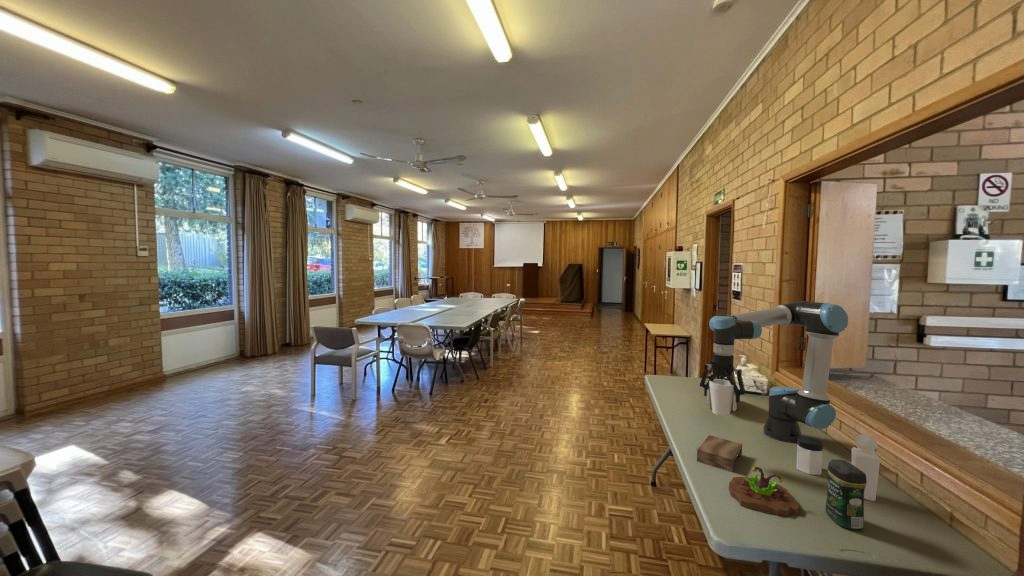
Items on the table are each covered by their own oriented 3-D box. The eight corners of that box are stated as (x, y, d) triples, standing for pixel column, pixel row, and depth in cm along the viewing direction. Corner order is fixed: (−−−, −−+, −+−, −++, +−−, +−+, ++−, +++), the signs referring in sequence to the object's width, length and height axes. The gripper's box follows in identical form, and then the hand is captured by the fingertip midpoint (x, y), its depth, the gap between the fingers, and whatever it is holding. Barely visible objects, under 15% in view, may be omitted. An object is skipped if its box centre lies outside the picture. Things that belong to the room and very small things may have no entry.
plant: (722, 479, 150) (723, 450, 149) (780, 486, 145) (782, 457, 144) (738, 511, 130) (739, 478, 130) (806, 521, 125) (808, 487, 125)
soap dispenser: (877, 502, 135) (881, 440, 133) (852, 496, 138) (856, 435, 137) (873, 493, 140) (876, 433, 139) (849, 487, 144) (852, 429, 142)
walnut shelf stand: (741, 455, 168) (742, 443, 168) (732, 472, 154) (732, 459, 154) (708, 446, 176) (709, 435, 176) (696, 461, 163) (697, 449, 162)
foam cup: (737, 418, 159) (738, 386, 158) (712, 416, 161) (713, 384, 160) (729, 409, 168) (730, 379, 167) (705, 408, 170) (707, 378, 169)
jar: (827, 472, 154) (828, 442, 153) (815, 477, 151) (817, 446, 150) (802, 462, 162) (803, 433, 161) (790, 466, 159) (791, 437, 158)
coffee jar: (820, 510, 130) (823, 456, 129) (846, 512, 129) (849, 457, 128) (840, 530, 121) (844, 471, 119) (869, 532, 120) (873, 473, 119)
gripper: (692, 351, 167) (690, 403, 169) (752, 359, 153) (749, 416, 154) (697, 348, 173) (695, 398, 174) (755, 356, 159) (753, 411, 160)
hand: (721, 406), depth 164 cm, fingers closed on foam cup, 9 cm apart
